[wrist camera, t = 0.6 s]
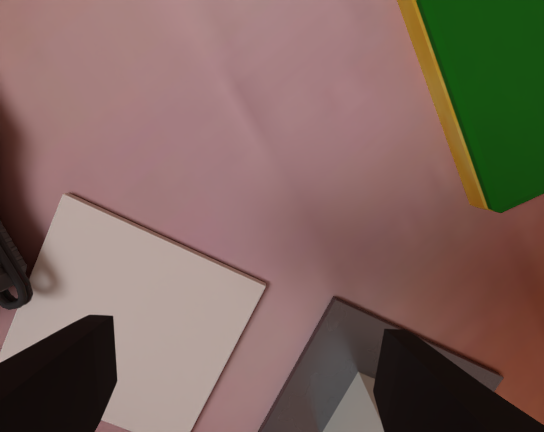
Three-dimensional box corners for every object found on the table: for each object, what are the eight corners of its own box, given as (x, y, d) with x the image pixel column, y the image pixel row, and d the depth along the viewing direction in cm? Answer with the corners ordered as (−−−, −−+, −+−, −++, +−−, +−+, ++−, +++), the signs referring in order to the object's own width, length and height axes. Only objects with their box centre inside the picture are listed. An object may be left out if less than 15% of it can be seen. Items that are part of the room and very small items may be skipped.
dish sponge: (510, -95, 17) (552, -137, 14) (581, 156, 19) (626, 156, 17) (380, -30, 17) (400, -61, 14) (467, 208, 19) (496, 216, 17)
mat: (182, 443, 21) (180, 450, 20) (-4, 372, 20) (-10, 377, 19) (265, 282, 19) (266, 286, 19) (68, 192, 18) (63, 193, 17)
